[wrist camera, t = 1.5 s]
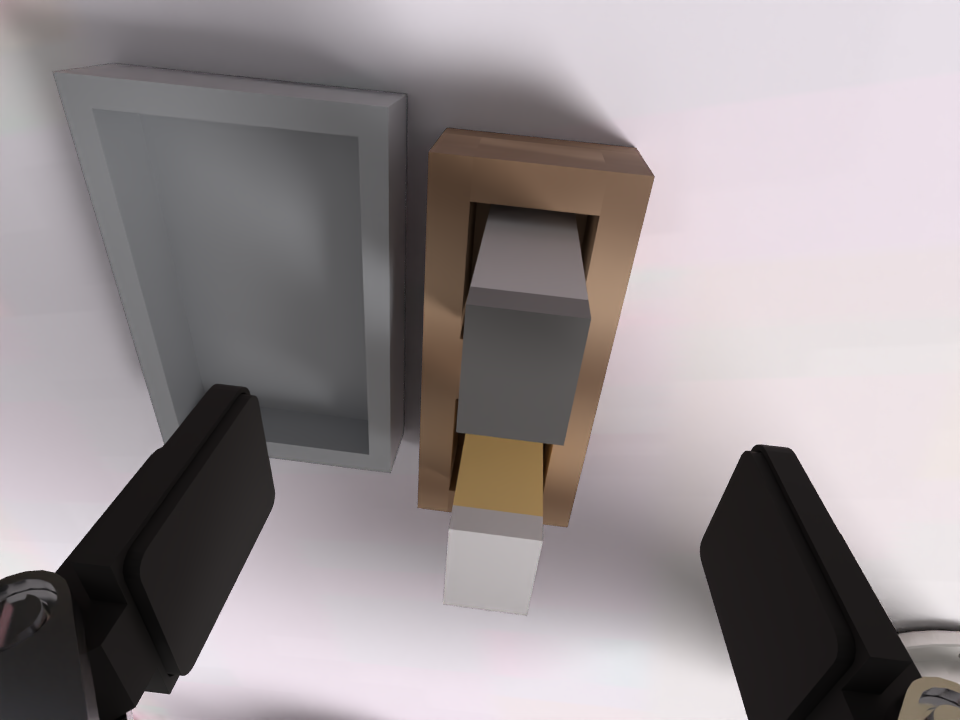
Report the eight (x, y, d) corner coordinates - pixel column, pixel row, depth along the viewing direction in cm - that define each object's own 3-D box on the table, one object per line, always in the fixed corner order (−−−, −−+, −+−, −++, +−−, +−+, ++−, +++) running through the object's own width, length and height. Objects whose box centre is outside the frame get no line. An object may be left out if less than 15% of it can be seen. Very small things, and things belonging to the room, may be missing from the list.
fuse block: (564, 467, 29) (567, 527, 26) (431, 450, 29) (417, 507, 26) (636, 147, 20) (654, 176, 17) (447, 127, 21) (428, 151, 17)
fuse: (531, 446, 27) (526, 615, 20) (470, 438, 27) (442, 604, 20) (542, 379, 25) (542, 541, 18) (476, 371, 25) (448, 528, 18)
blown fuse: (556, 299, 23) (563, 445, 15) (484, 291, 23) (456, 432, 16) (573, 204, 21) (591, 318, 13) (493, 195, 21) (466, 303, 13)
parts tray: (403, 432, 29) (390, 472, 26) (196, 406, 29) (164, 444, 27) (407, 94, 20) (388, 107, 18) (112, 63, 21) (52, 71, 18)
